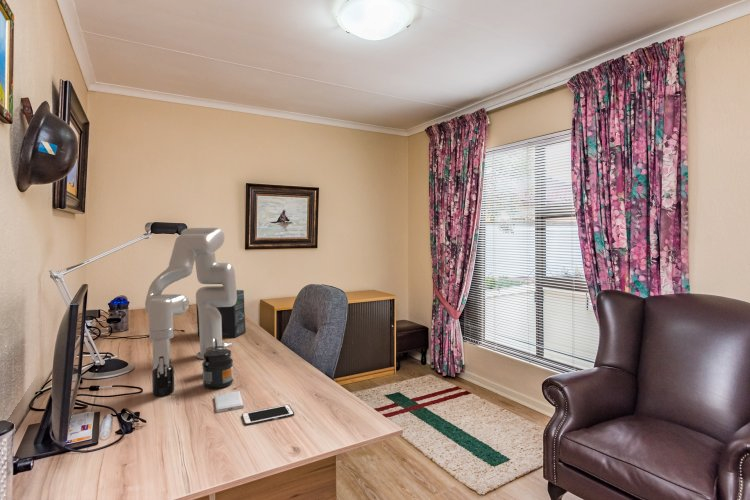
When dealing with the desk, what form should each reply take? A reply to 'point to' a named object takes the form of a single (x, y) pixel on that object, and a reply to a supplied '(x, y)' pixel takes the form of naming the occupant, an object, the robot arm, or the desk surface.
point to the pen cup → (214, 346)
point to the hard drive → (228, 401)
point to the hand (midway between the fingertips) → (163, 383)
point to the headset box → (231, 317)
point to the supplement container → (217, 368)
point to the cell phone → (267, 414)
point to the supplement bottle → (170, 387)
